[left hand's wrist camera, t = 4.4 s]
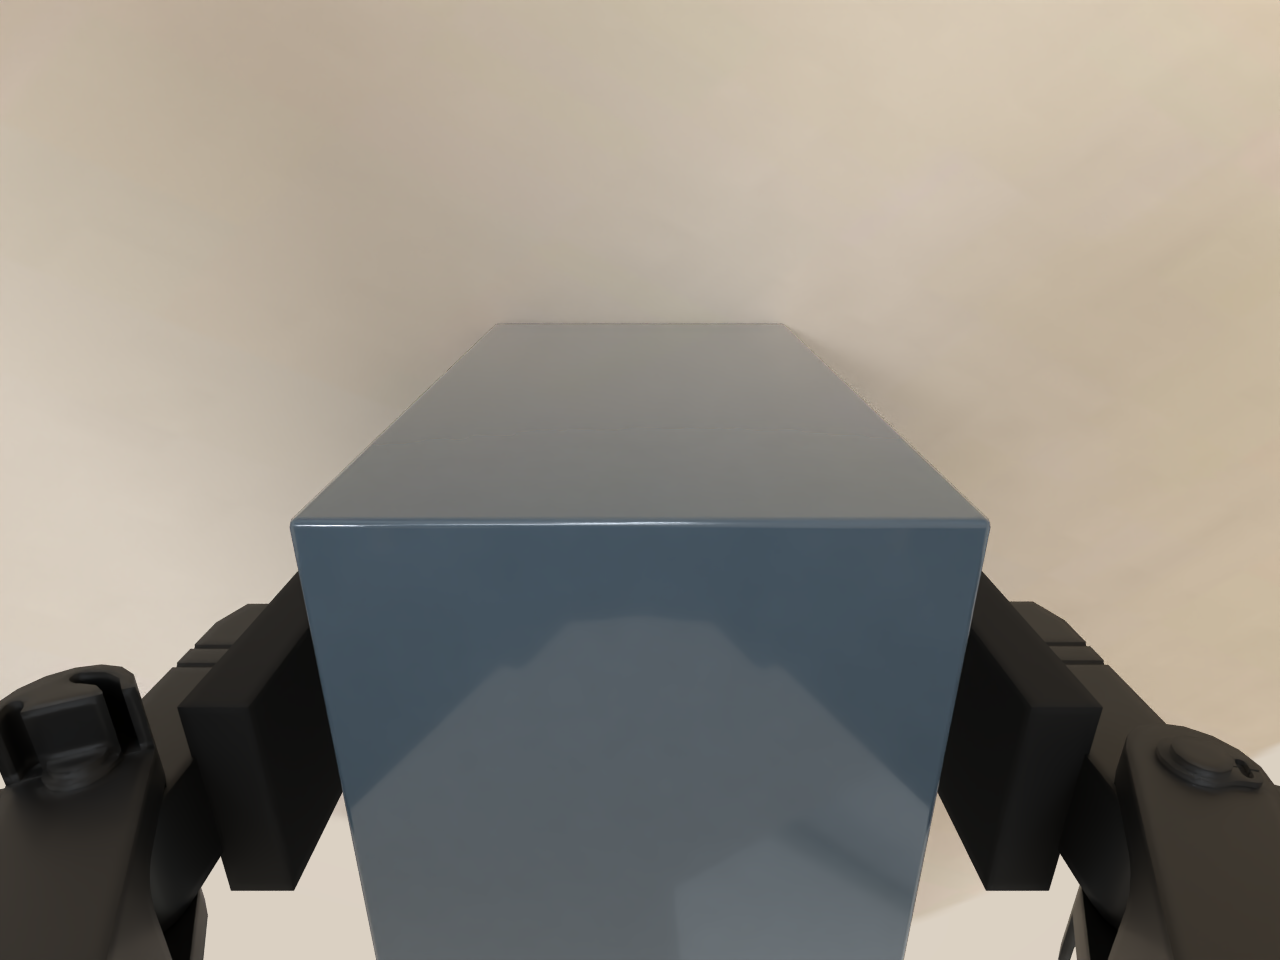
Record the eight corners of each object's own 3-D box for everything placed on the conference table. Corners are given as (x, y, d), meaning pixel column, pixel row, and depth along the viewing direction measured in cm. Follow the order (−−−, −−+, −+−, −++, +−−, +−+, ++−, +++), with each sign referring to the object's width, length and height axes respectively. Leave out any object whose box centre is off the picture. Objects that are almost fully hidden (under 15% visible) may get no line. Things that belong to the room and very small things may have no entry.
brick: (760, 651, 17) (878, 1102, 9) (519, 651, 17) (401, 1102, 9) (785, 323, 14) (996, 520, 6) (494, 322, 14) (282, 520, 6)
